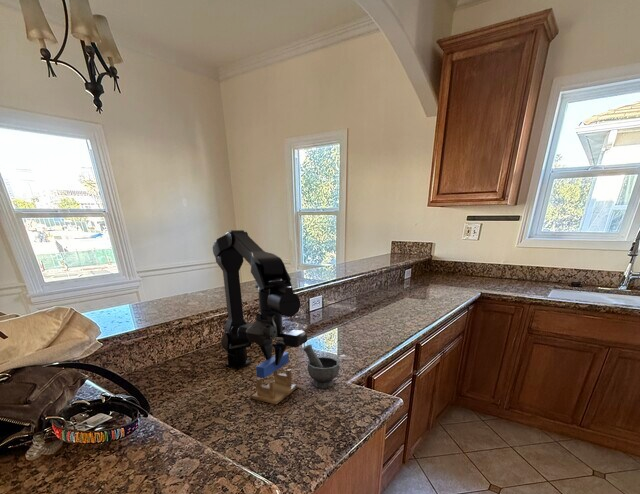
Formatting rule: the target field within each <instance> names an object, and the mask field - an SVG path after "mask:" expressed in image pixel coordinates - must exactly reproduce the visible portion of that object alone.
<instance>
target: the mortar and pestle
mask: <svg viewBox="0 0 640 494" xmlns="http://www.w3.org/2000/svg"><path fill="white" fill-rule="evenodd" d="M302 350H303V352H304V353H305V354H306V356H307V359H308V360H307V373H308V374H309V377H310V378H311V379H312V380H313V385H314V386H315V387H316V388H322V389H325V388H330V387H332V386H334V379H336V378H337V376H338V375H339V372H340V361H339V360H338V359H336V358H334V357H328V356H318V355H317V354H316V353H315V351H314V349H313V345H312V344H307V345H305V346H304V347H303V348H302Z"/></svg>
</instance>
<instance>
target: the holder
mask: <svg viewBox="0 0 640 494" xmlns="http://www.w3.org/2000/svg"><path fill="white" fill-rule="evenodd" d="M285 371H286V372H285V373H286V374H285V373H280V368H279V369H278V370H276V371H275V372H273V375H274V376H273V377H274V379H273V380H270V381H269V382H268V384H266V385H265V384H263V380H262V379H263V378H260V377H257V378H256V379H255V383H256V392H255V393H253V394H252V395H251V399H252V400H256V401H260V402H265V403H269V404H272V405H278V404H279V403H280V402H282V401H283V400H284V399H285V398H286V397H288V396H289V395H290V394H291V393H293V392H294V391H295V390H296V389H298V385H297V384H293V383H292V369H291V368H290V369H289V368H288V369H286V370H285Z"/></svg>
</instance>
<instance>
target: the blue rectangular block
mask: <svg viewBox="0 0 640 494" xmlns="http://www.w3.org/2000/svg"><path fill="white" fill-rule="evenodd" d="M288 363H290V352H288V351H284V354H283V356H282V358H281V361H280V363H279V365H276V362H275V355H272V357H271V358H270V359H268V360H266V359H265V361H263V362H261V363H260V364H257V365H256V366H255V370H256V377H257V378H261V379H265V378H267V377H269V376H270V375H272V374H274V372H275V371H276V370H278V369H279V370H280V368H283V367H284V366H285V365H287V364H288Z"/></svg>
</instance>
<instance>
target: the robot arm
mask: <svg viewBox="0 0 640 494" xmlns="http://www.w3.org/2000/svg"><path fill="white" fill-rule="evenodd" d="M212 254H213V256H214V258H215V262H216V264H217V265H218V266H219V268H220V269H221V271H222V275H223V286H224V291H225V292H224V293H225V302H226V312H227V320H226V322H225V324H224V327H223V330H224V332H223V335H222V337H221V340H220V343H221V347H222V349H223V350H225V351H226V352H227V354H226V357H227V358H226V359H227V362H226V363H224V365H225V366H226V367H231V368H235V369H242V368H245V367H246V366H248V365H249V364H251V363H252V360H249V359H248V351H247V348H250V347H252V343H254V344H256V345H257V346H259V348H260V350H261V352H262V354H263V356H264V358H265V361H266V360H268V359H270V358H271V357H273V354H272V353H273V348H274V356H275V362H276V365H279V363H280V361H281V358H282V356H283V354H284V352H286V349H287V347H290V348H299V347H300V346H303V345H304V344H305V343H307V342H308V334H307V333H306V331H304V330H298V329H292V330H290V331H288V332H285V331H286V326H285V325H283V316H284V317H286V318H291V317H294V316H296V315H297V313H298V312H299V310H300V308H301V300H300V297H299V296H298V295H297V294H296V293H295V292H294V288H293V287H292V286H293V285H292V281H291V280H292V278H291V277H290V274H289V273H288V272H289V271H288V270H287V268H286V266H285V263H284V261H283V259H282V258H281V257H280V256H279V255H277V254H275V253H271V252H268V251H266V250H264V249H263V248H261V246H259V244H257V243H256V242H255V241H254V240H253V239H252V237H250V236H249V234H248V232H247V231H246V230H244V229H232V230H231V229H230V230H229V231H227V232H226V233H225V234H224V235H222V236H220V237H218V238H216V239H215V241H214V242H213V244H212ZM244 260H245V261H246V262H247V263H248V264H249V266H250V274H251V275H252V278H254V280H255V283H256V284H255V285H254V286H255V289H257V296H258V308H259V309H258V310H259V312H257V313H256V316H255V322H247V320H246V319H245V318H244V309H243V307H244V306H243V299H242V290H241V289H242V288H241V279H240V270H241V268H242V266H243V263H244ZM273 339H276V342H274V343H273Z"/></svg>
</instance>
